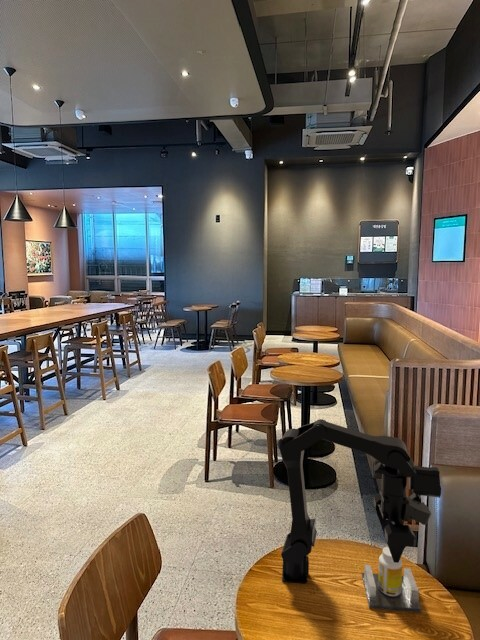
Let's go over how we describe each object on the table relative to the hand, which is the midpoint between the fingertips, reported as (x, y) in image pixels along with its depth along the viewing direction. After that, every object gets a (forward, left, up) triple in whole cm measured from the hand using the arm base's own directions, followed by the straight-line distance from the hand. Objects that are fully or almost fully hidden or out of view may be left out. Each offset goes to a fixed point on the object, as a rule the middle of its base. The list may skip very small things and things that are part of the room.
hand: (391, 549), depth 107 cm
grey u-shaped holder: (0, 0, -12) cm, 12 cm away
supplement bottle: (0, 0, -11) cm, 11 cm away
